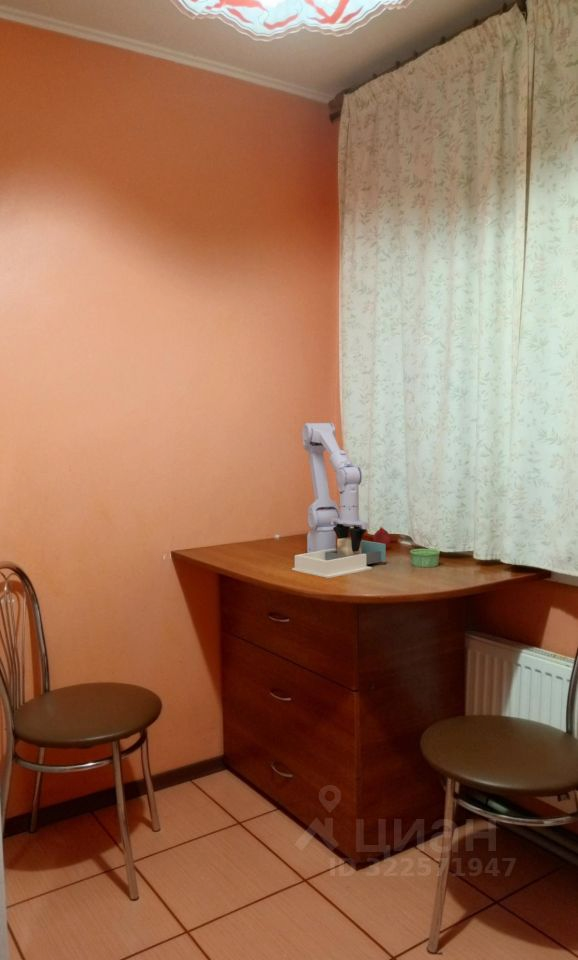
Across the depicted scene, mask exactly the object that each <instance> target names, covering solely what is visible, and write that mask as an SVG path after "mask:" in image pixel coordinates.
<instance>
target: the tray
mask: <svg viewBox="0 0 578 960" xmlns="http://www.w3.org/2000/svg"><path fill="white" fill-rule="evenodd" d="M361 547H362V554H366V565H370V564H375V563H380V562H382V563H386V562H387V561H386V558H387V556H386V555H387V553H386V552H387V551H386V549H387V547H386V544H382V543H376V542H374V541H368V540H364V539H362V540H361ZM358 555H359V554H358ZM353 556H354V555H353ZM343 557H349V556H346V555H341V554H337V550H335V551H330V552H325V560H326V561H327V560H333V559H338V558H343Z"/></svg>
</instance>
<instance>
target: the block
mask: <svg viewBox="0 0 578 960" xmlns="http://www.w3.org/2000/svg"><path fill="white" fill-rule="evenodd" d="M336 549H337V554H341V555H346V556H353V555H358V554H362V547H361V543H360V547H359V551H355V552H353V551H352V542H351V536H348V537H347V538H341V539H338V538H336Z"/></svg>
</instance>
